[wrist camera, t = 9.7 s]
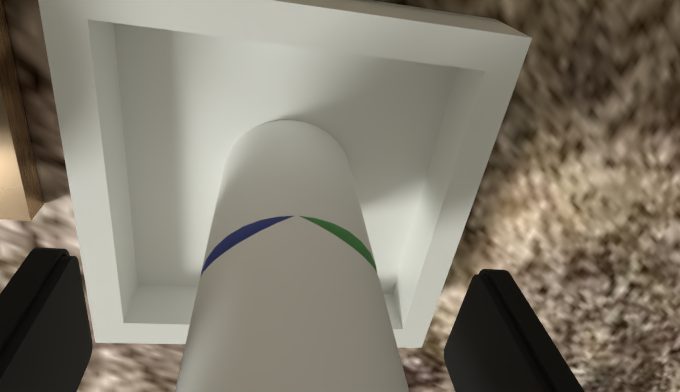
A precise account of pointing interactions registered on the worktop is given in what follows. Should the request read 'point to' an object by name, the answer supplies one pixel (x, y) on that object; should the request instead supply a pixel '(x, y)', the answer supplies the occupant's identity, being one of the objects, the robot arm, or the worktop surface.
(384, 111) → the tray
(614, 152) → the worktop surface
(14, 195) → the knob on plate
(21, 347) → the robot arm
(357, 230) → the tube
